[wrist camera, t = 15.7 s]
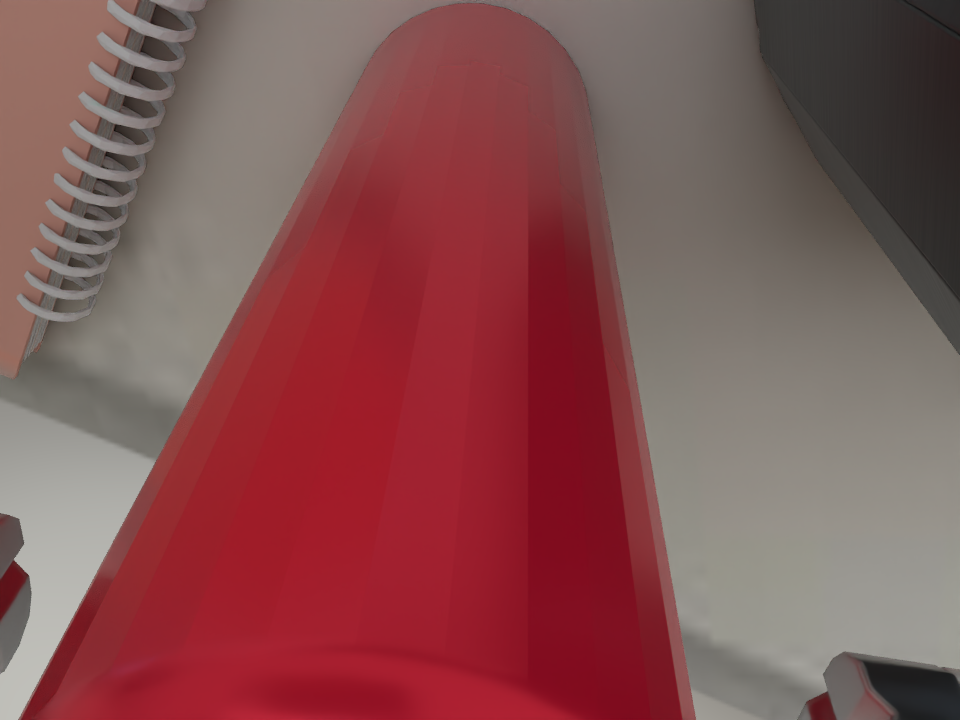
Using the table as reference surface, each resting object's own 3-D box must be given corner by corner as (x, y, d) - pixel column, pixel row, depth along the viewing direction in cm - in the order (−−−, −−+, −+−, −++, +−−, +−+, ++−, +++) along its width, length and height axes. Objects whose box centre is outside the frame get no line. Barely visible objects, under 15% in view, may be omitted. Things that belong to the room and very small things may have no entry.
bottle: (546, 257, 23) (597, 1612, 6) (335, 197, 22) (-257, 1533, 5) (624, 44, 20) (1140, 1557, 3) (383, -31, 19) (-593, 1360, 2)
